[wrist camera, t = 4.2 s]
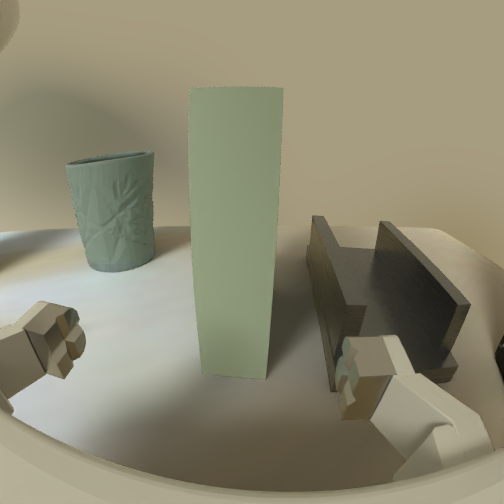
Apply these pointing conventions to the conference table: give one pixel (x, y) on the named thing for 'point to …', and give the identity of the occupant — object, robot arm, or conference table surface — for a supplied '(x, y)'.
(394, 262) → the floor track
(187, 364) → the conference table surface
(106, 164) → the green embossed cup
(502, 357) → the graphics card box
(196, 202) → the green upright rectangular block
